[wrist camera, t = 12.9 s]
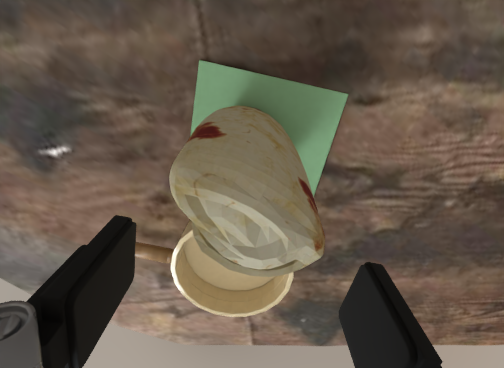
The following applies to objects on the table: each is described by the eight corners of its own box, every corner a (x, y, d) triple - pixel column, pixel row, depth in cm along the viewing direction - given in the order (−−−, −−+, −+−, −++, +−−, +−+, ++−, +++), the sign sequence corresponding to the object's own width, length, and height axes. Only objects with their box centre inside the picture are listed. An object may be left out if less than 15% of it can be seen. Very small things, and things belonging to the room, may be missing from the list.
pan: (176, 280, 40) (166, 305, 36) (187, 191, 34) (176, 208, 30) (275, 299, 41) (276, 325, 37) (303, 215, 35) (308, 235, 30)
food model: (307, 138, 30) (375, 246, 12) (269, 179, 32) (277, 325, 14) (239, 80, 28) (194, 104, 10) (203, 129, 30) (112, 224, 12)
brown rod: (113, 245, 34) (106, 254, 33) (113, 234, 34) (105, 243, 32) (178, 258, 35) (173, 267, 33) (179, 247, 34) (175, 256, 32)
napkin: (185, 180, 33) (184, 181, 33) (199, 60, 28) (199, 59, 27) (309, 206, 34) (309, 207, 34) (347, 93, 28) (348, 94, 28)
